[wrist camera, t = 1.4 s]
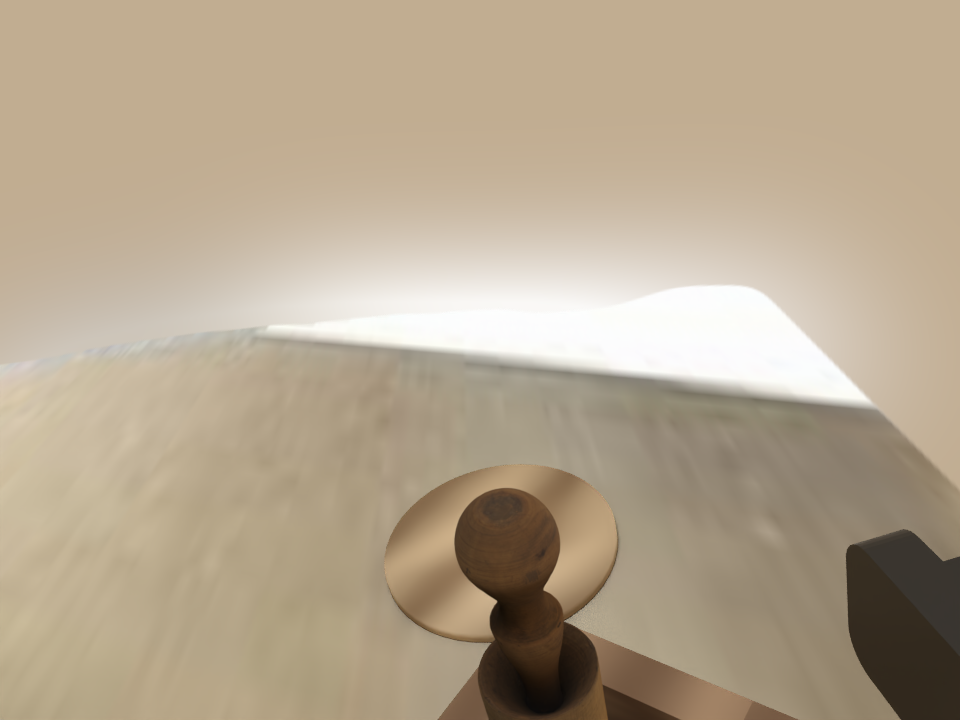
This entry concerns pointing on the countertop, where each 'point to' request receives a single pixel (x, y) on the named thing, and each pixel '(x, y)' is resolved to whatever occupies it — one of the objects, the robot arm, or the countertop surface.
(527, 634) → the mortar and pestle
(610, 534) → the cork trivet
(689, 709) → the walnut collar
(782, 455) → the countertop surface
